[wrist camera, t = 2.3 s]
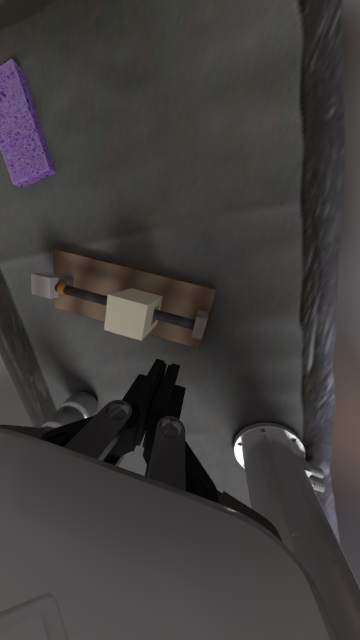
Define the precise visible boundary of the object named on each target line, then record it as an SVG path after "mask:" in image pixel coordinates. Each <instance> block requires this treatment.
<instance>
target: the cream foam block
mask: <svg viewBox="0 0 360 640" xmlns="http://www.w3.org/2000/svg"><path fill="white" fill-rule="evenodd" d="M162 298H163V296H159V295H156V294H152V293H148V292H144V291H140V290H137V289H133V288H131V289H127V290H123V291H120V292H116V293H112V294H108V297H107V307H106V317H105V327H104V330H106V331H110V332H113V333H117V334H120V335H123V336H127V337H130V338H134V339H137V340H141V341H142V340H143V339H144V338H145V336H146V335H147V334H148V333H149V332H150V331H151V330H152V329H153V328H154V327H155V326H156V325H157V323H158V320H156V319H152V318H153V313H154V309H156V310H160V308H161V303H162Z"/></svg>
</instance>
